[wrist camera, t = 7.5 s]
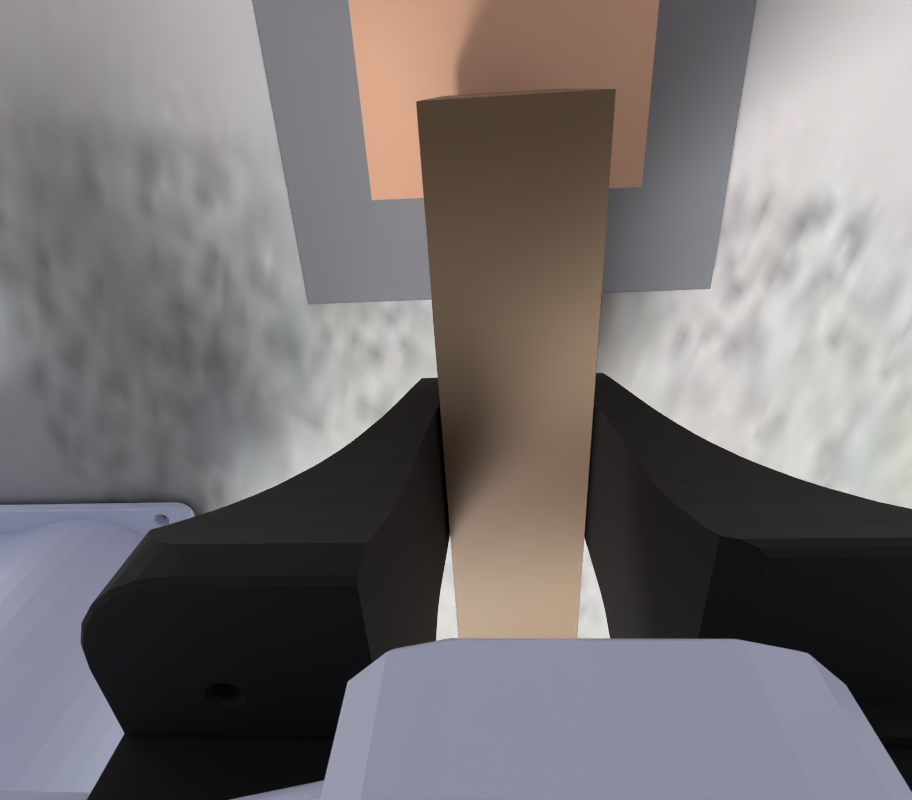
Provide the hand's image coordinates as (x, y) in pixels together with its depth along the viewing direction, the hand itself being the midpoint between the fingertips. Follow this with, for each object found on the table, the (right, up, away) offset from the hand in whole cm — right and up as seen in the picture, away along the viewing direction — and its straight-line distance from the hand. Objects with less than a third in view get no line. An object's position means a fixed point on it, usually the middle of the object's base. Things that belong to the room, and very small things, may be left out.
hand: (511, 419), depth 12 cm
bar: (0, +1, +2) cm, 3 cm away
